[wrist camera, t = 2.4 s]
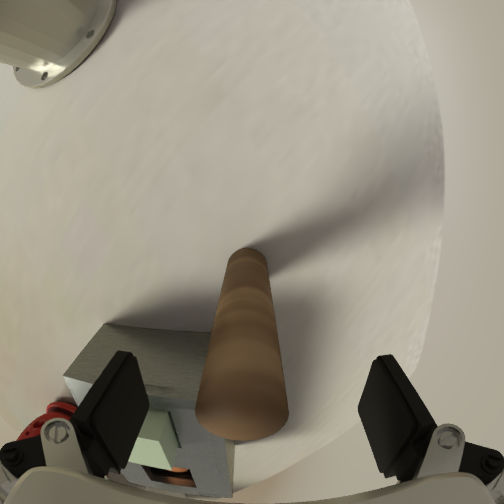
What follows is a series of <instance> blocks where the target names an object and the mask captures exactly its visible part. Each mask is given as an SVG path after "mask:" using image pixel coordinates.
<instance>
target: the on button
mask: <svg viewBox="0 0 504 504" xmlns="http://www.w3.org/2000/svg"><path fill="white" fill-rule="evenodd" d="M178 443H179V438H178V435H177V432H176V429H175V426H174V422H173V419H172V416H171V412H169V411H162V410H155V409H149V410H148V413H147V415H146V418H145V420H144V423H143V425H142V427H141V430H140V432H139V435H138V437H137V440H136V442H135V445H134V448H133V450H132V453H131V455H130V458H129V460H128V462H132V463H137V464H141V465H146V466H150V467H155V468H161V469H166V470H172V469H173V465H174V460H175V456H176V451H177V447H178Z"/></svg>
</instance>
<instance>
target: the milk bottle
mask: <svg viewBox="0 0 504 504" xmlns="http://www.w3.org/2000/svg"><path fill="white" fill-rule="evenodd" d="M145 490H147V491H151V492H155V493H160V494H165V495H170V496H175V497H181V498H186V495H185V494H184V493H178V492H172V491H166V490H161V489H156V488H151V487H147V486H146V488H145Z"/></svg>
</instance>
